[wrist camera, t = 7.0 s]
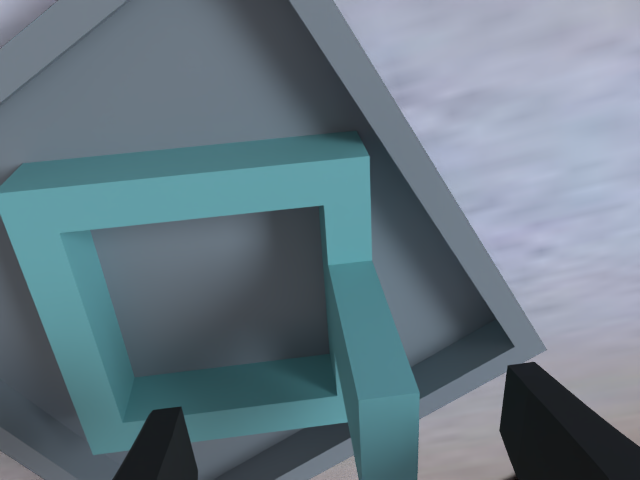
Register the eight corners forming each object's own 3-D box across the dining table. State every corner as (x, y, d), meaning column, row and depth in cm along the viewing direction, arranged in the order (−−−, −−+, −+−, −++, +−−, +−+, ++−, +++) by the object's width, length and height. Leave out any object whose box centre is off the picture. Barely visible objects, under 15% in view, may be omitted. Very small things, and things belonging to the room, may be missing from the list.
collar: (107, 408, 19) (40, 627, 13) (22, 163, 15) (-135, 323, 9) (365, 375, 20) (414, 572, 14) (356, 130, 16) (423, 260, 9)
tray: (520, 313, 20) (546, 349, 18) (171, 510, 23) (164, 557, 21) (242, -141, 13) (240, -153, 11) (-213, 236, 16) (-270, 274, 14)
